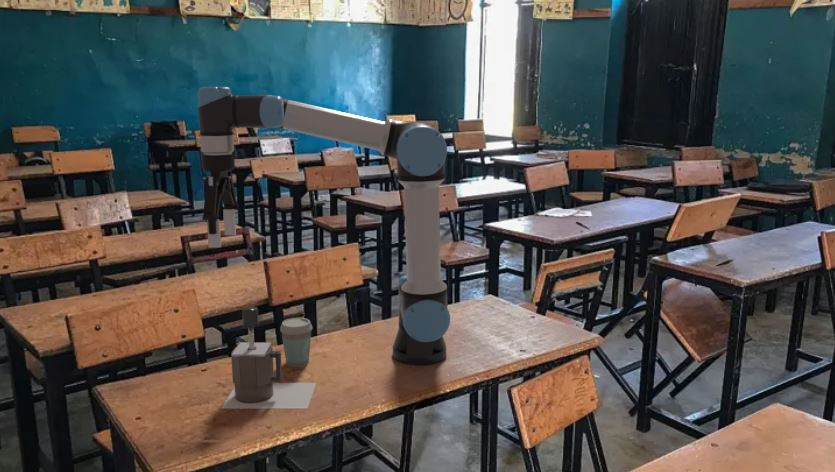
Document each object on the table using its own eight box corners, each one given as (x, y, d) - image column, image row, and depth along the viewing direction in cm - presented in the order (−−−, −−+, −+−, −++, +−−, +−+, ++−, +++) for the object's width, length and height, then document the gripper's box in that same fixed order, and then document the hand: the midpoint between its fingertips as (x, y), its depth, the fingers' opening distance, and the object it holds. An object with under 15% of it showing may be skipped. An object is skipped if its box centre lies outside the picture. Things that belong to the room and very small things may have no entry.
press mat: (316, 384, 172) (316, 382, 172) (307, 410, 158) (307, 408, 158) (237, 384, 172) (237, 382, 172) (221, 410, 158) (221, 408, 158)
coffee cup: (307, 371, 180) (305, 328, 177) (276, 369, 181) (274, 326, 179) (318, 359, 188) (316, 318, 185) (288, 357, 190) (287, 316, 187)
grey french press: (285, 387, 169) (283, 341, 167) (278, 403, 161) (276, 355, 158) (240, 387, 169) (237, 341, 167) (230, 403, 161) (227, 355, 158)
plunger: (262, 371, 166) (259, 306, 162) (259, 377, 162) (255, 311, 159) (247, 371, 166) (244, 306, 162) (243, 377, 162) (240, 311, 159)
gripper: (217, 148, 174) (222, 230, 178) (184, 158, 149) (190, 252, 154) (246, 148, 174) (250, 230, 178) (218, 158, 149) (224, 252, 154)
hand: (222, 240), depth 166 cm, fingers open, 13 cm apart
